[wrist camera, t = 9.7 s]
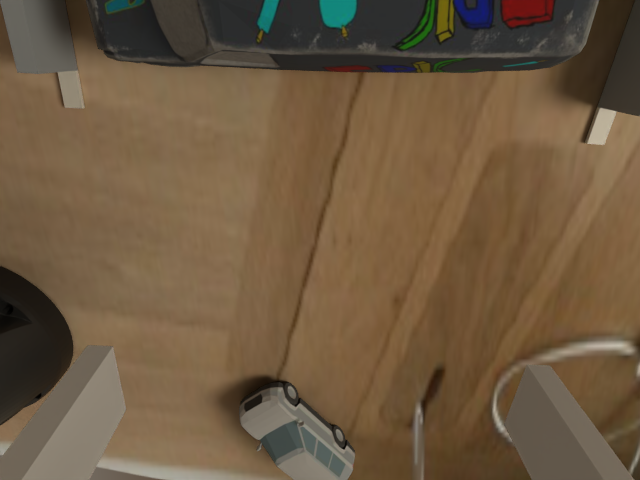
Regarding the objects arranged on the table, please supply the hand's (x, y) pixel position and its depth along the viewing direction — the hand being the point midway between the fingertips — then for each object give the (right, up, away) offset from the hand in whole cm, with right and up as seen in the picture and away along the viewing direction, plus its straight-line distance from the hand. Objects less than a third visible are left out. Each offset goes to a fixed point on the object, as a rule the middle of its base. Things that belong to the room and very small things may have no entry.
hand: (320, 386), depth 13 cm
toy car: (-2, -13, +28) cm, 31 cm away
